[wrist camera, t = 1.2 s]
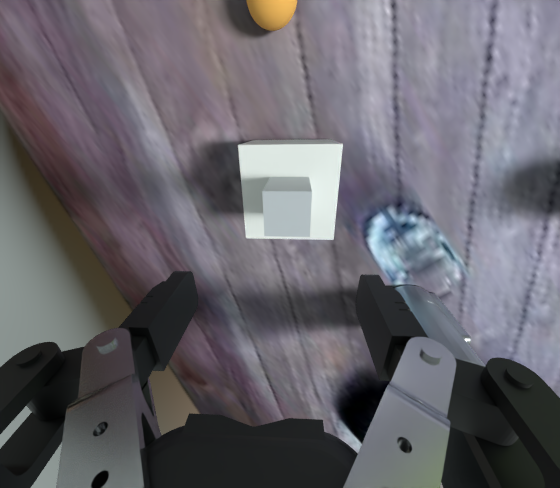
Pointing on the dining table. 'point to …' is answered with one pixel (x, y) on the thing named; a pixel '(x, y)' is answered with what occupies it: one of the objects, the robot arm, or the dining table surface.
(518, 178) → the dining table surface
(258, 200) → the white grey stepped block
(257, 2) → the ball
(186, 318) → the robot arm
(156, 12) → the dining table surface
